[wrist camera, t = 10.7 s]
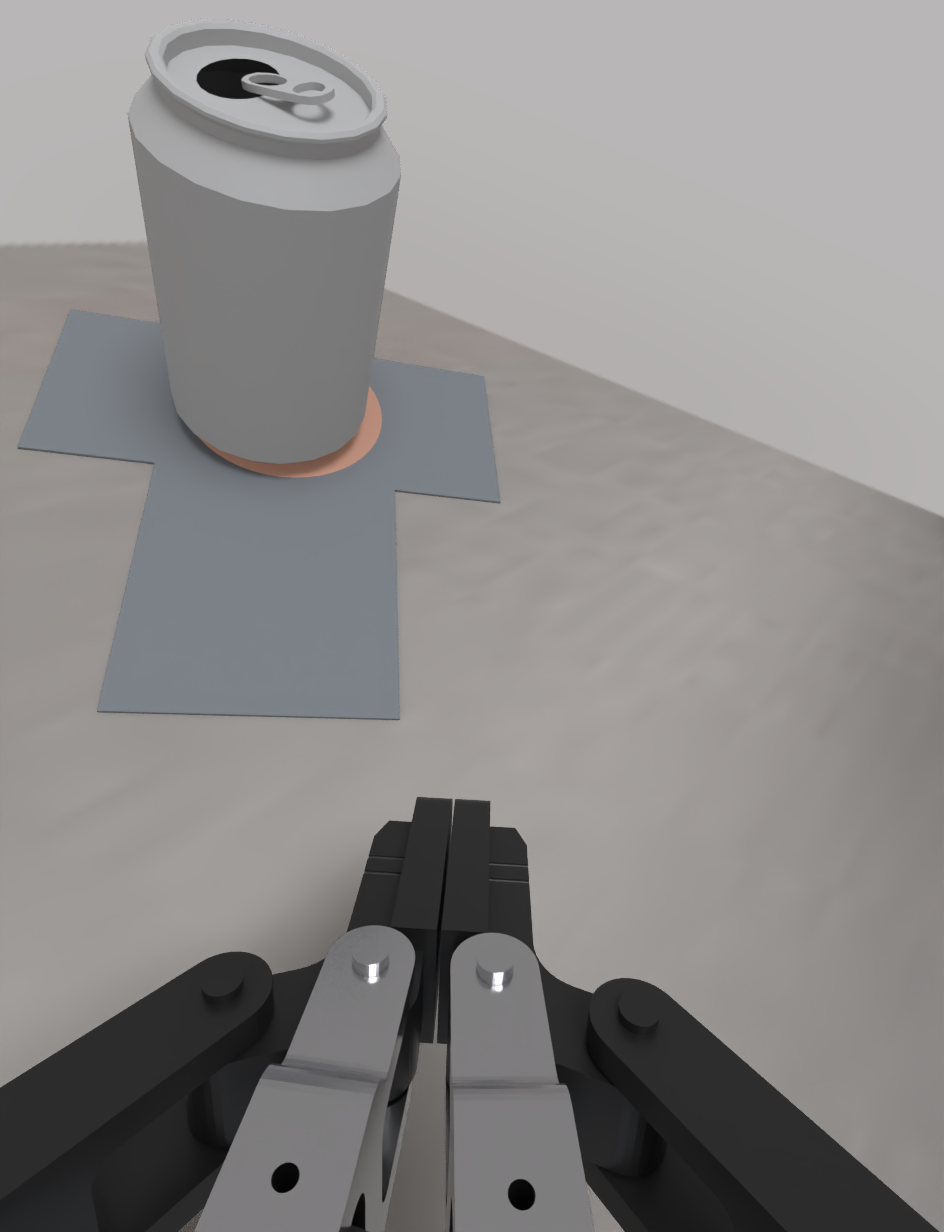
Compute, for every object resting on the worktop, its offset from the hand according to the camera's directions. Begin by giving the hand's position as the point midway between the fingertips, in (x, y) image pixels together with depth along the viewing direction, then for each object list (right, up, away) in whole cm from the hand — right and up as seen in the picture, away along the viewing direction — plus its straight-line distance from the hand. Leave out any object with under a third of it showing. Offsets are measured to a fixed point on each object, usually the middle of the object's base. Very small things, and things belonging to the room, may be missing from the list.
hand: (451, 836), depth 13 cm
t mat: (-7, +9, +12) cm, 17 cm away
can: (-8, +13, +14) cm, 21 cm away
